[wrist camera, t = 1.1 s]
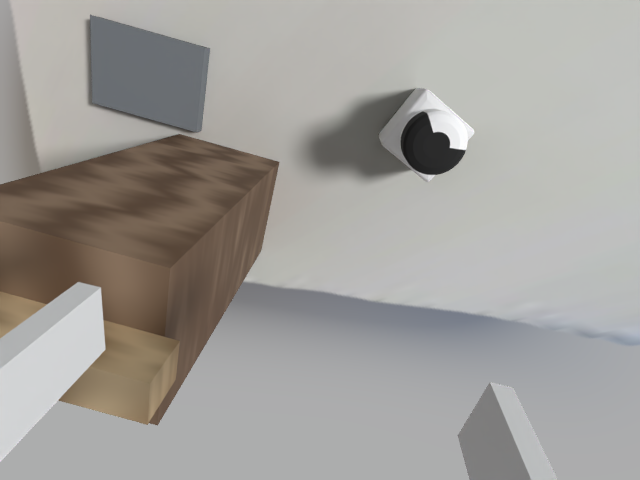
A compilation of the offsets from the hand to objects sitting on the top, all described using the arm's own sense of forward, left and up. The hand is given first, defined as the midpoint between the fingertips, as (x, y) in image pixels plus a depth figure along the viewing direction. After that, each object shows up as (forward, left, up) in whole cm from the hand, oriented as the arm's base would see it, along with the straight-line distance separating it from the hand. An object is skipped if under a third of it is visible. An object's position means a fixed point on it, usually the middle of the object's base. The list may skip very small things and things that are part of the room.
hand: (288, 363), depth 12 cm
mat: (-16, -21, -38) cm, 46 cm away
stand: (+1, -18, -38) cm, 42 cm away
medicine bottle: (-1, +10, -38) cm, 39 cm away
